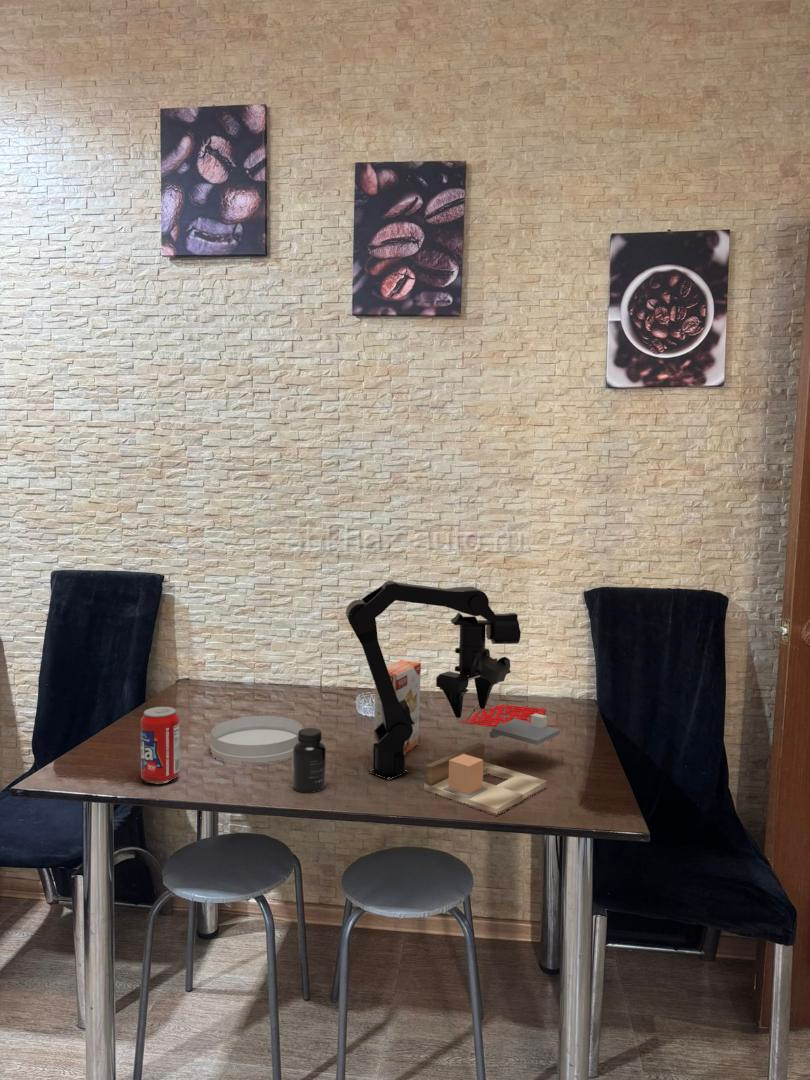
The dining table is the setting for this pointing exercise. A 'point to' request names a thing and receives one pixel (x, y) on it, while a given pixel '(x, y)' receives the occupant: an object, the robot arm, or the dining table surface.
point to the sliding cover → (526, 730)
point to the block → (465, 774)
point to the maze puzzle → (515, 713)
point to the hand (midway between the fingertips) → (470, 713)
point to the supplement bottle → (309, 761)
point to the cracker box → (403, 695)
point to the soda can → (160, 744)
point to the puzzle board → (489, 795)
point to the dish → (255, 738)
